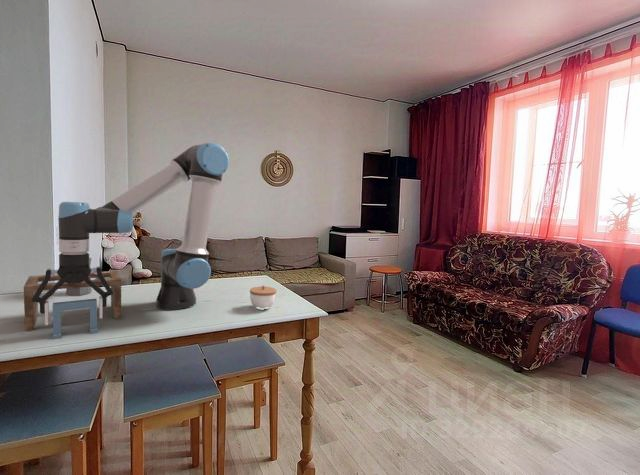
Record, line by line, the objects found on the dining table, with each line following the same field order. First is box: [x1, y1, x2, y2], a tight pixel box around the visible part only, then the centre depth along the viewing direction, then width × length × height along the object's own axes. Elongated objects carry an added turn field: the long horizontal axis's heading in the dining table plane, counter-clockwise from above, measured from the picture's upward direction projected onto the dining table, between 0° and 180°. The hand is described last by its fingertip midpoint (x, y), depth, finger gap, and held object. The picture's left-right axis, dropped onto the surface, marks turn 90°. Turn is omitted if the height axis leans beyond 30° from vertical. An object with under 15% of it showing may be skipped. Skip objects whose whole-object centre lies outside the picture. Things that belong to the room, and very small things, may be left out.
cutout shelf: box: [23, 270, 122, 332], centre depth 120 cm, size 26×16×14 cm, turn 125°
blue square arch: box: [52, 298, 99, 340], centre depth 106 cm, size 11×5×10 cm, turn 125°
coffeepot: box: [65, 257, 93, 297], centre depth 146 cm, size 15×9×18 cm, turn 39°
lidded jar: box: [249, 285, 277, 308], centre depth 141 cm, size 11×11×9 cm
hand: (74, 320), depth 106 cm, fingers open, 13 cm apart
